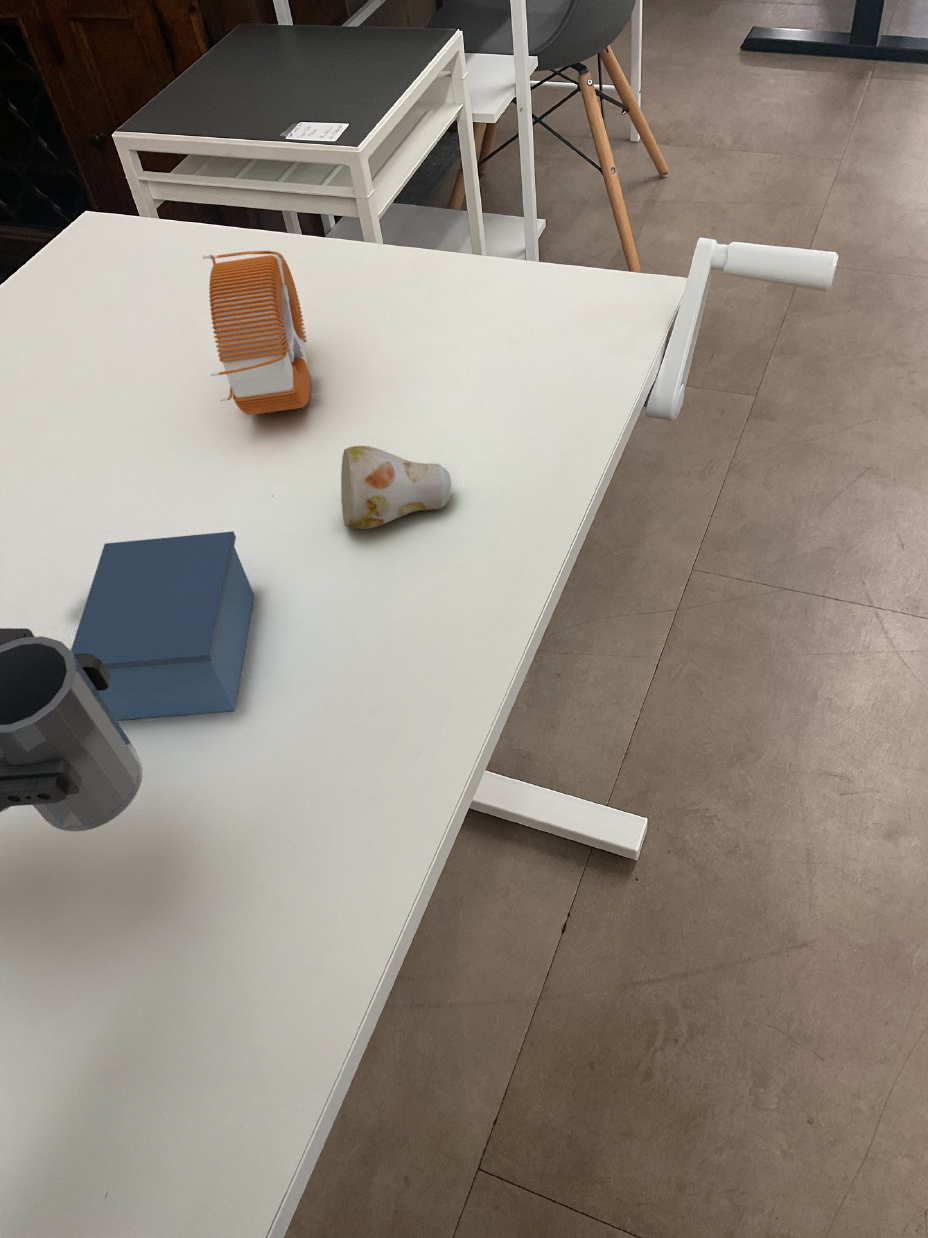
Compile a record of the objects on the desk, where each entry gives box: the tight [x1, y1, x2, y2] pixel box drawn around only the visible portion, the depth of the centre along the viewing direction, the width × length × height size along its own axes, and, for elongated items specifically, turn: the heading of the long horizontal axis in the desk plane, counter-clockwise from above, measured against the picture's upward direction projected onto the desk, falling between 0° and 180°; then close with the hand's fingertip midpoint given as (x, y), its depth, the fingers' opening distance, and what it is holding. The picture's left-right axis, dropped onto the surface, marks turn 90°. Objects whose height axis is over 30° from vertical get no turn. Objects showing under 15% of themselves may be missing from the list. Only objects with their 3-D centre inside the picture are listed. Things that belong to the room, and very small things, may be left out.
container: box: [70, 531, 255, 721], centre depth 79 cm, size 13×11×7 cm
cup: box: [0, 635, 144, 832], centre depth 56 cm, size 6×6×10 cm
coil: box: [202, 250, 311, 416], centre depth 97 cm, size 7×15×15 cm, turn 4°
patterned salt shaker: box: [340, 445, 452, 530], centre depth 87 cm, size 8×10×10 cm
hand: (90, 722), depth 55 cm, fingers closed on cup, 6 cm apart
